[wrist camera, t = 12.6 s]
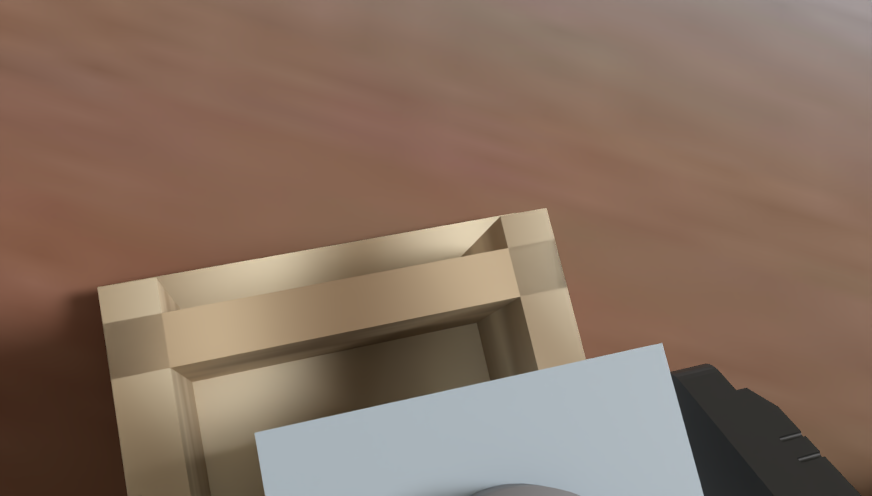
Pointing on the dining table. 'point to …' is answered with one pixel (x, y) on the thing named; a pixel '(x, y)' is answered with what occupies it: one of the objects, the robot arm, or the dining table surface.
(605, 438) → the post
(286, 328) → the keeper pocket
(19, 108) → the dining table surface
